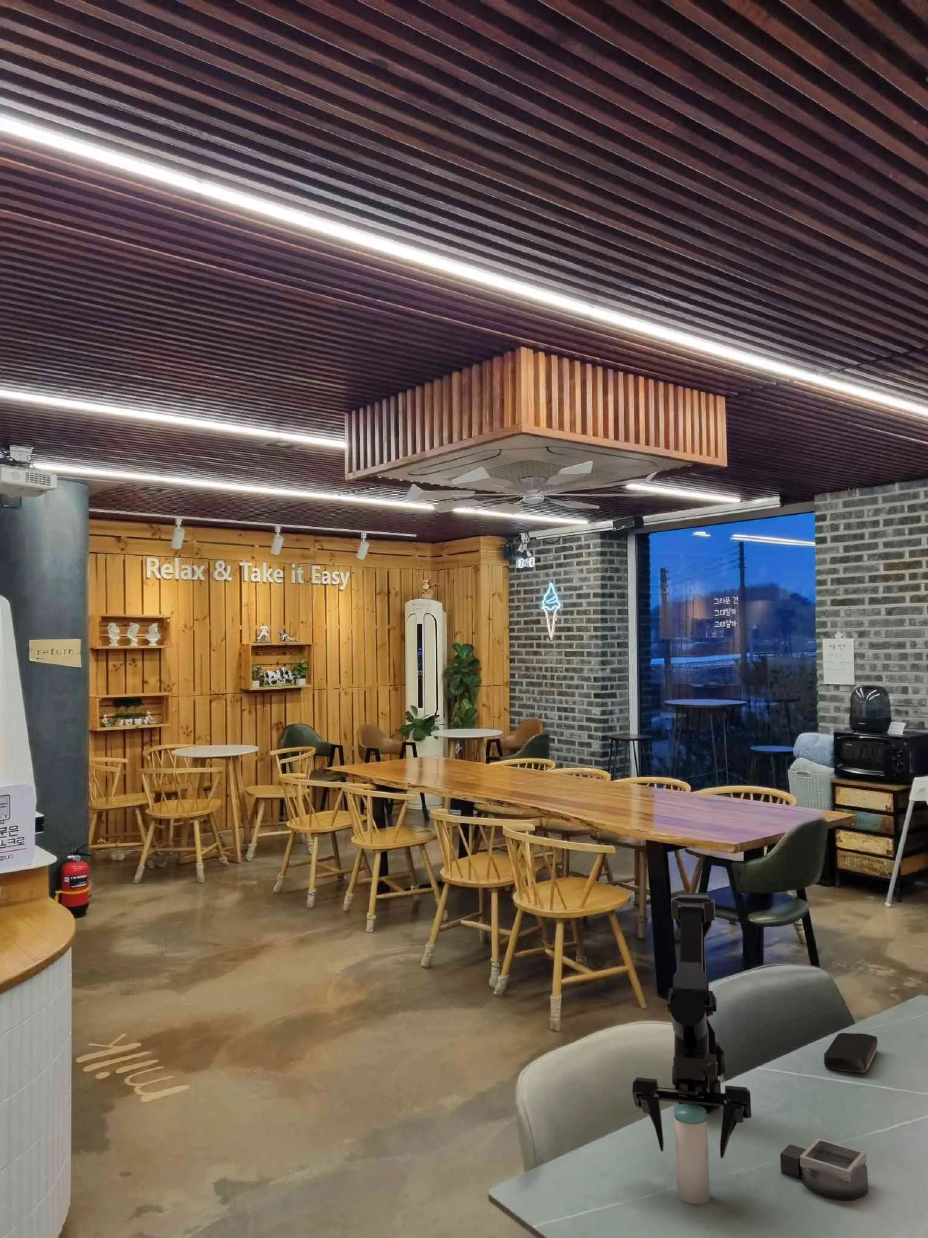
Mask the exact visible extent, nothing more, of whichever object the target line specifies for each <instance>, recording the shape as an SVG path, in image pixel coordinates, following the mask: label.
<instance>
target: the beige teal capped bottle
mask: <svg viewBox="0 0 928 1238" xmlns="http://www.w3.org/2000/svg"><path fill="white" fill-rule="evenodd" d="M673 1114H674V1117H673V1118H674V1136H675V1161H676V1162H675V1163H676V1182H677V1183H676V1185H677V1196H678V1198H679V1199H680V1200H681V1201H683V1202H684V1203H688V1204H690V1205H691V1204H692V1205H703V1204H705V1203H707V1202H709V1201H710V1199H711V1187H710V1186H711V1185H710V1163H709V1162H710V1161H709V1144H708V1143H709V1142H708V1140H709V1139H708V1137H709V1136H708V1120H707V1119H708V1118H707V1113H706V1109H705V1108H703V1107H702V1106H700V1105H696V1104H691V1103H684V1104H677V1105H675V1106H674V1108H673Z"/></svg>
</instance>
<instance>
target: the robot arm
mask: <svg viewBox="0 0 928 1238" xmlns="http://www.w3.org/2000/svg"><path fill="white" fill-rule="evenodd" d="M670 903H671V919H673V920H674V921H675V924H676V926H677V928H678V929H679V931H680V939H679V942H680V943H679V944H680V946H679V947H680V949H679V952H680V953H679V968H678V969H677V970H676V971H675V973H673V975H672V988H671V987H670V988H669V987H668V988H669V989H668V997H667V1003H666V1004H667V1012H668V1013H670V1016H671V1017H670V1018H671V1025H672V1030H673V1032H674V1044H673V1045H674V1047H673V1048H674V1050H673V1051H674V1052H673V1053H674V1054H673V1061H672V1062H673V1064H672V1068H671V1069H672V1070H671V1082H672V1083H671V1084H672V1085H673V1088H670V1087H659V1084H658V1083H659V1082H658V1079H657V1078H647V1077H635V1079H633V1081H632V1088H631V1089H632V1091H631V1094H632V1098H633V1102H634V1105H635V1107H637V1108H638V1109H642V1112H643V1113H644V1114H647V1115H649V1118H650V1120H651V1123H652V1125H653V1126H654V1130H655V1134H656V1136H657V1137H656V1138H657V1142H658V1146H659V1149H660V1152H664V1149H665V1148H664V1146H665V1141H664V1133H663V1131H664V1129H663V1121H662V1119H663V1118H662V1111H661V1107H660V1106H661V1105H660V1102H662V1101H664V1102H670V1103H671V1102H672V1103H678V1104H677V1105H679V1104H684V1103H691V1104H696V1105H700V1106H702V1107H703V1108H705V1109H706V1114H707V1113H708V1114H709V1113H711V1112H712V1111H713V1110H715V1109H716V1108H717V1107H722V1119H721V1120H722V1121H721V1130H720V1131H721V1132H720V1140H719V1141H720V1142H719V1149H720V1150H719V1155H720V1156H719V1157H720V1159H724V1157H725V1155H726V1154H725V1153H726V1151H727V1148H728V1145H729V1141H730V1138H731V1136H732V1134H733V1131H734V1130H735V1127H736V1126H737V1124H742V1123H744V1119H751V1118H752V1104H751V1103H752V1101H751V1091H750V1090H749V1088H747V1087H745V1086H736V1085H725V1086H724V1093H723V1092H722V1090H721V1089H722V1086H721V1080H719V1077H722V1075H723V1074H726V1063H725V1061H726V1059H725V1051H724V1050H723V1049H722V1046H721V1043H720V1042H717V1033H716V1030H715V1029H714V1027H713V1026H712V1024H711V1022H710V1020H709V1017H710V1016H714V1013H716V1012H717V1009H718V1008H717V1007H718V1001H717V997H716V996H715V993H714V991H713V990H710V982H709V976H708V975H707V971H706V970H707V968H706V967H707V966H706V965H707V964H706V963H707V962H706V938H707V937H708V934H709V932H710V931H711V929H712V927H713V922H714V921H715V920H716V904H715V898H709V893H708V892H705V893H704V892H677V897H672V898H671V900H670Z"/></svg>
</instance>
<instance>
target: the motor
mask: <svg viewBox="0 0 928 1238" xmlns="http://www.w3.org/2000/svg"><path fill="white" fill-rule="evenodd" d="M779 1158H780V1159H779V1160H780V1173H781V1174H785V1175H787V1176H791V1177H794V1178H797V1179H800V1178H801V1182H802V1184H803V1186H805V1188H806V1189H808V1190H809V1191H810V1192H812V1193H814V1194H815V1195H818V1196H820V1197H822V1198H823V1197H824V1198H825V1199H829V1200H834V1201H840V1202H841V1201H842V1202H843V1201H844V1202H846V1201H847V1202H848V1201H850V1202H851V1201H857V1200H860V1199H862V1198H864V1197H865V1196H867V1194H869V1178H868V1177H869V1176H868V1173H869V1172H868V1167H867V1165H866V1164H867V1162H868V1161H867V1152H866V1151H863V1150H859V1149H856V1148H853V1147H850V1146H846V1145H842V1144H839V1143H837V1142H833V1141H830V1140H826V1139H823V1138H821V1137H820V1138H819V1137H817V1138H816V1139H815V1140H814V1141H813V1142H812V1143H811V1144H810V1145H809V1146H808V1147H807V1148H803V1147H801V1146H797V1145H794V1144H790V1143H789V1144H788V1145H787V1146H786V1147H785V1148H784V1149H783V1150H782V1151H781V1152H780V1153H779Z"/></svg>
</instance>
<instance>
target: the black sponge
mask: <svg viewBox="0 0 928 1238" xmlns="http://www.w3.org/2000/svg"><path fill="white" fill-rule="evenodd" d="M877 1051H878V1037H877V1036H875V1035H871V1034H868V1033H867V1034H866V1033H861V1032H860V1033H858V1032H857V1033H854V1032H853V1033H851V1032H849V1033H848V1032H841V1033H838V1034H837V1035H836V1036H835V1037H834V1039H833V1041H832V1042H831V1044H830V1045H829V1047H828V1048H827V1050H826V1051H825V1052H824V1053H823V1065H824V1066H825V1068H826V1069H828V1070H834V1071H835V1070H836V1071H841V1072H842V1071H843V1072H854V1073H866V1072H867V1071H868V1069H869V1068H870V1065H871V1063H872V1061H873V1059H874V1057H875V1055H876V1053H877Z"/></svg>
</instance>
